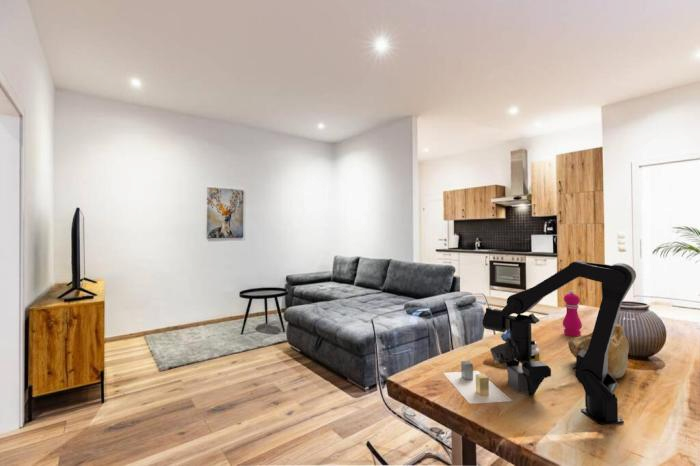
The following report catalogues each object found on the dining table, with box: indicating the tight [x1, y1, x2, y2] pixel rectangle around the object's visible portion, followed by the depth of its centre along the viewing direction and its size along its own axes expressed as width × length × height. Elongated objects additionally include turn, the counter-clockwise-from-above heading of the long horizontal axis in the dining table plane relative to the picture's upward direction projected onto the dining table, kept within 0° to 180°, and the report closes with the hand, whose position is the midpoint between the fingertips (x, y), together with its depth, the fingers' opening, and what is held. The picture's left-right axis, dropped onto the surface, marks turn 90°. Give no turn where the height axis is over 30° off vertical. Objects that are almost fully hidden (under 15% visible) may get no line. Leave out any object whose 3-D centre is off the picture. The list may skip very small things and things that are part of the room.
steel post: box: [460, 360, 474, 380], centre depth 106 cm, size 3×3×5 cm
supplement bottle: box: [521, 341, 540, 366], centre depth 114 cm, size 5×5×10 cm
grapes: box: [500, 328, 510, 343], centre depth 130 cm, size 12×7×12 cm, turn 136°
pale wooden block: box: [476, 373, 490, 396], centre depth 96 cm, size 3×3×5 cm
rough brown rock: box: [567, 323, 630, 380], centre depth 115 cm, size 23×17×15 cm
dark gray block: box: [507, 365, 528, 393], centre depth 99 cm, size 5×5×7 cm
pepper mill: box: [562, 289, 583, 337], centre depth 151 cm, size 7×7×20 cm
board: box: [443, 370, 513, 405], centre depth 101 cm, size 20×12×1 cm, turn 5°
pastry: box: [482, 357, 507, 370], centre depth 117 cm, size 9×7×4 cm
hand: (521, 388), depth 99 cm, fingers open, 9 cm apart
